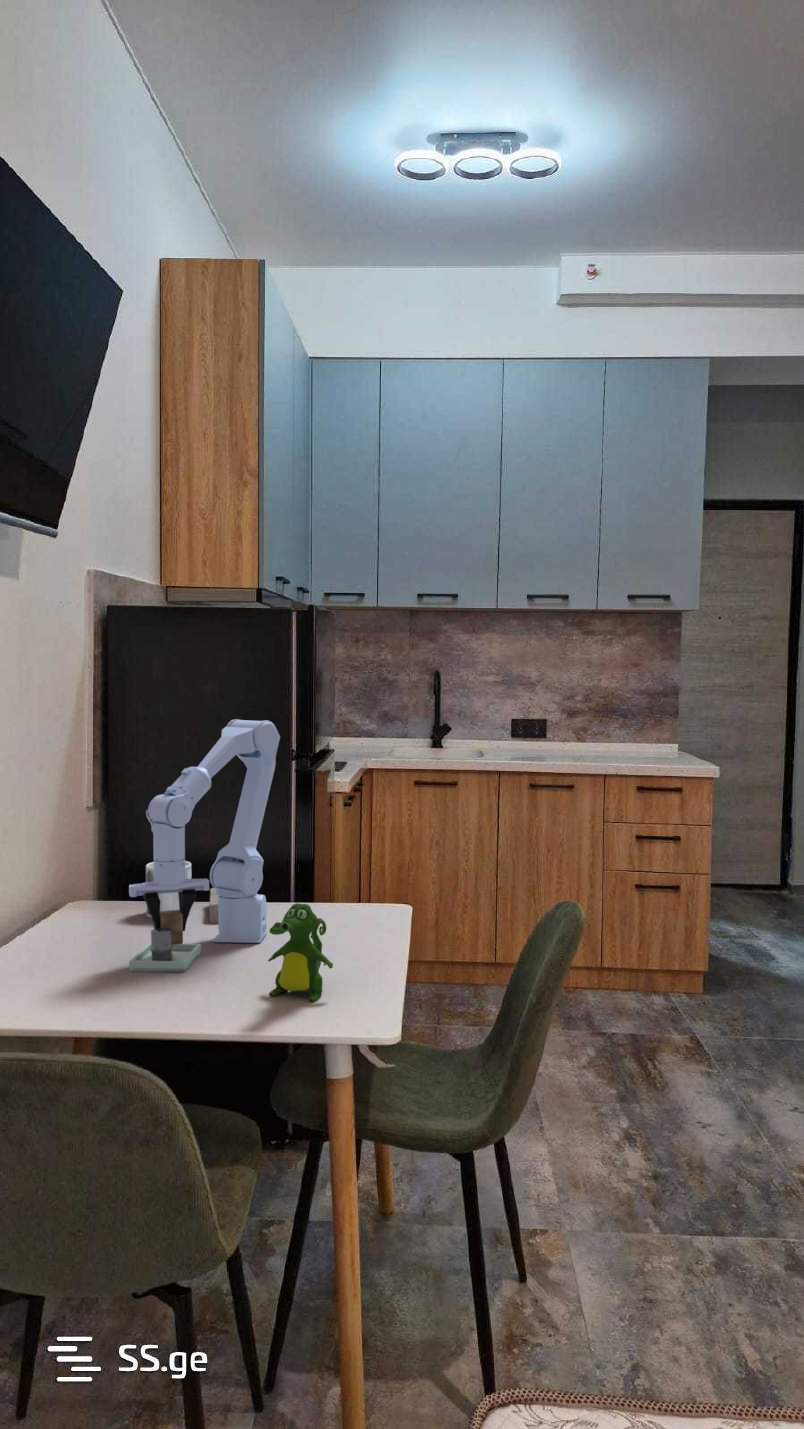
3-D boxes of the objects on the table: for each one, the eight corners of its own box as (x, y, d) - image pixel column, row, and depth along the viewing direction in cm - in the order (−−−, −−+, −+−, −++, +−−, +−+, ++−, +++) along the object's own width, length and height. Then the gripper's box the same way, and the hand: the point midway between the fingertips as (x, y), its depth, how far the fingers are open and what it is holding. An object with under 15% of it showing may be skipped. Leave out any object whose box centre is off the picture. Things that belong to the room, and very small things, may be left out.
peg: (171, 959, 186) (170, 926, 185) (172, 964, 182) (171, 931, 182) (151, 960, 185) (150, 928, 184) (152, 966, 181) (151, 933, 181)
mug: (202, 909, 226) (201, 861, 226) (178, 923, 214) (177, 871, 214) (159, 907, 228) (158, 859, 228) (133, 920, 217) (132, 869, 216)
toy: (242, 1006, 162) (241, 914, 161) (295, 972, 180) (295, 889, 179) (308, 1015, 158) (308, 920, 157) (355, 979, 176) (355, 894, 175)
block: (178, 938, 191) (178, 909, 191) (182, 943, 187) (182, 914, 187) (157, 940, 189) (156, 911, 189) (161, 945, 186) (161, 916, 186)
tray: (201, 953, 192) (201, 943, 192) (184, 972, 180) (184, 962, 180) (149, 952, 192) (149, 943, 192) (129, 971, 180) (129, 961, 180)
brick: (248, 923, 216) (248, 901, 215) (209, 924, 214) (208, 902, 214) (246, 905, 232) (246, 885, 232) (209, 907, 230) (209, 886, 230)
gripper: (203, 852, 194) (203, 922, 195) (126, 858, 189) (126, 930, 189) (211, 859, 188) (212, 931, 189) (132, 865, 182) (132, 939, 183)
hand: (169, 931), depth 188 cm, fingers closed on block, 4 cm apart
